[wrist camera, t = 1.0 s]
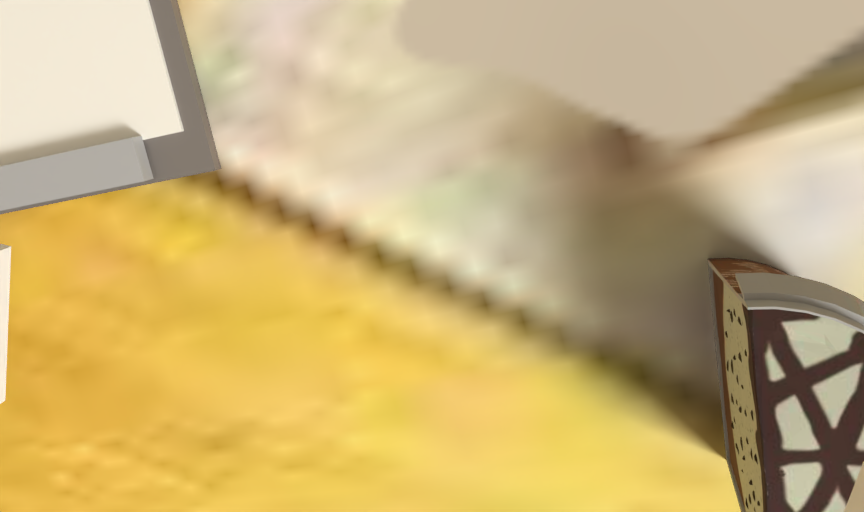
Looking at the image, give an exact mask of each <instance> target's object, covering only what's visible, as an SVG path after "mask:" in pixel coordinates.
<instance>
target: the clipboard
mask: <svg viewBox="0 0 864 512" xmlns="http://www.w3.org/2000/svg"><path fill="white" fill-rule="evenodd" d="M218 169H221V166H220V162H219V159H218V155H217V151H216V147H215V143H214V140H213V136H212V132H211V128H210V124H209V121H208V117H207V113H206V109H205V105H204V102H203V98H202V94H201V90H200V86H199V83H198V79H197V75H196V71H195V67H194V64H193V60H192V56H191V52H190V48H189V44H188V41H187V37H186V33H185V29H184V25H183V22H182V18H181V14H180V10H179V6H178V3H177V0H0V214H4V213H9V212H13V211H18V210H23V209H28V208H33V207H38V206H43V205H48V204H53V203H58V202H63V201H67V200H72V199H77V198H82V197H87V196H92V195H97V194H102V193H107V192H112V191H116V190H121V189H126V188H131V187H136V186H141V185H146V184H151V183H156V182H161V181H165V180H170V179H175V178H180V177H185V176H190V175H195V174H200V173H205V172H210V171H214V170H218Z"/></svg>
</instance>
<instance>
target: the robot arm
mask: <svg viewBox="0 0 864 512" xmlns="http://www.w3.org/2000/svg"><path fill="white" fill-rule="evenodd" d="M10 262H11V246H7V245H3V244H0V404H1V403H2V402H4V401H5V393H6V367H7V340H8V314H9V288H10ZM844 512H864V462H863V464H862V467H861V469H860V472H859V474H858V477H857V479H856V482H855V485H854V487H853V490H852V492H851V495H850V497H849V500H848V503H847V505H846V508H845V510H844Z"/></svg>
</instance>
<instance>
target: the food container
mask: <svg viewBox="0 0 864 512" xmlns="http://www.w3.org/2000/svg"><path fill="white" fill-rule="evenodd" d="M708 269H709V280H710V290H711V301H712V312H713V322H714V333H715V344H716V354H717V365H718V376H719V386H720V397H721V408H722V418H723V429H724V440H725V451H726V460H727V464H728V467H729V471H730V474H731V478H732V481H733V485H734V488H735V492H736V495H737V499H738V502H739V506H740V509H741V512H844V510H845V508H846V505H847V503H848V500H849V497H850V495H851V492H852V490H853V487H854V485H855V482H856V479H857V477H858V474H859V472H860V469H861V467H862V464H863V462H864V302H863V301H862V300H860V299H858V298H857V297H855V296H853V295H851V294H848V293H846V292H844V291H841V290H839V289H837V288H834V287H832V286H830V285H827V284H824V283H821V282H817V281H813V280H809V279H805V278H801V277H797V276H791V275H788V274H786V273H784V272H783V271H780V270H778V269H775V268H773V267H770V266H768V265H766V264H762V263H758V262H754V261H749V260H743V259H733V258H718V259H708Z"/></svg>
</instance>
